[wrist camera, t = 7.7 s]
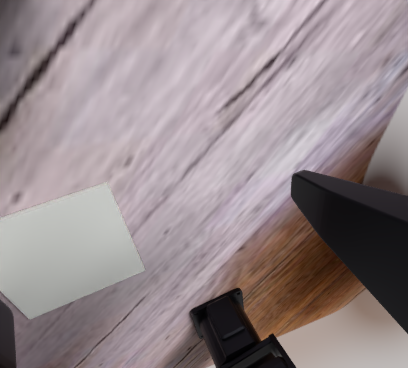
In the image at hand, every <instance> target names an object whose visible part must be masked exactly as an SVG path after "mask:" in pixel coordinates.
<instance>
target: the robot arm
mask: <svg viewBox="0 0 408 368" xmlns="http://www.w3.org/2000/svg"><path fill="white" fill-rule="evenodd" d="M291 197H292V199H293V201H294V202H295V203H296V205H297V206H298V208H299V209H300V210H301V212H302V213H303V214H304V216H305V217H306V219H307V220H308V221H309V223H310V224H311V225H312V227H313V228H314V230H315V231H316V232H317V233H318V235H319V236H320V237H321V238H322V239H323V241H324V242H325V243H326V244H327V245H328V246H329V247H330V248H331V249H332V251H333V252H334V253H335V254H336V255H337V256H338V257H339V258H340V259H341V261H342V262H343V263H344V264H345V265H346V266H347V267H348V268H349V269H350V270H351V272H352V273H353V274H354V275H355V276H356V277H357V278H358V279H359V280H360V282H361V283H362V284H363V285H364V286H365V287H366V288H367V289H368V290H369V291H370V293H371V294H372V295H373V296H374V297H375V298H376V299H377V300H378V301H379V303H380V304H381V305H382V306H383V307H384V308H385V309H386V310H387V311H388V313H389V314H390V315H391V316H392V317H393V318H394V319H395V320H396V321H397V323H398V324H399V325H400V326H401V327H402V328H403V329H404V330H405V331H406V332H407V334H408V196H406V195H402V194H398V193H394V192H390V191H386V190H382V189H378V188H374V187H370V186H366V185H363V184H359V183H355V182H351V181H347V180H343V179H339V178H335V177H331V176H327V175H323V174H319V173H315V172H311V171H307V170H302V171H299V172H297V173H294V174H293V176H292V181H291ZM191 315H192V318H193V321H194V324H195V327H196V330H197V333H198V336H199V338H200V339H202V338H204V340H205V342H206V344H207V347H208V349H209V352H210V354H211V357H212V359H213V361H214V364H215V366H216V368H296V367H295V365H294V364H293V362H292V361H291V359H290V358H289V356H288V355H287V353H286V352H285V350H284V349H283V347H282V346H281V345H280V343H279V342H278V340H277V339H276V337H275V336H274V334H273V333H272V334H271V335H269V337H268V338H266V339H264V340H263V341H261V339H260V338H259V336H258V334H257V332H256V331H255V329H254V327H253V325H252V324H251V322H250V320H249V318H248V317H247V315H246V313H245V311H244V306H243V296H242V291H241V289H240V288H237V289H235V290H233V291H231V292H229V293H226V294H224V295H222V296H220V297H218V298H216V299H214V300H212V301H210V302H208V303H205V304H203V305H201V306H199V307H197V308H195V309H193V310H192V311H191ZM276 356H277V357H276ZM0 368H16V351H15V335H14V319H13V314H12V311H11V310H10V308H9V307H8V306H7V305H6V304H5V303H3V302H2V301H1V300H0Z"/></svg>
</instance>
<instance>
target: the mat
mask: <svg viewBox="0 0 408 368" xmlns="http://www.w3.org/2000/svg"><path fill="white" fill-rule="evenodd" d="M144 271H145V267H144V265H143V263H142V260H141V258H140V256H139V253H138V251H137V249H136V247H135V244H134V242H133V240H132V237H131V235H130V233H129V230H128V228H127V226H126V223H125V221H124V219H123V216H122V214H121V212H120V209H119V207H118V205H117V202H116V200H115V198H114V196H113V193H112V191H111V189H110V186H109V184H108V182H105V183H102V184H99V185H96V186H93V187H90V188H87V189H84V190H81V191H78V192H75V193H72V194H69V195H66V196H63V197H60V198H57V199H54V200H51V201H48V202H45V203H43V204H40V205H37V206H34V207H31V208H28V209H25V210H22V211H19V212H16V213H13V214H10V215H7V216H4V217H1V218H0V291H1V292H2V293H3V294H4V295H5V296H6V297H7V298H8V299H9V300H10V301H11V302H12V303H13V304H14V305H15V306H16V307H17V308H18V309H19V310H20V311H21V312H22V313H23V314H24V315H25V316H26V317H27V318H28V319H29V320H30V319H33V318H35V317H37V316H40V315H42V314H44V313H47V312H49V311H52V310H54V309H56V308H59V307H61V306H63V305H66V304H68V303H70V302H73V301H75V300H78V299H80V298H82V297H85V296H87V295H89V294H92V293H94V292H96V291H99V290H101V289H104V288H106V287H108V286H111V285H113V284H115V283H118V282H120V281H122V280H125V279H127V278H129V277H132V276H134V275H137V274H139V273H141V272H144Z"/></svg>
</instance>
